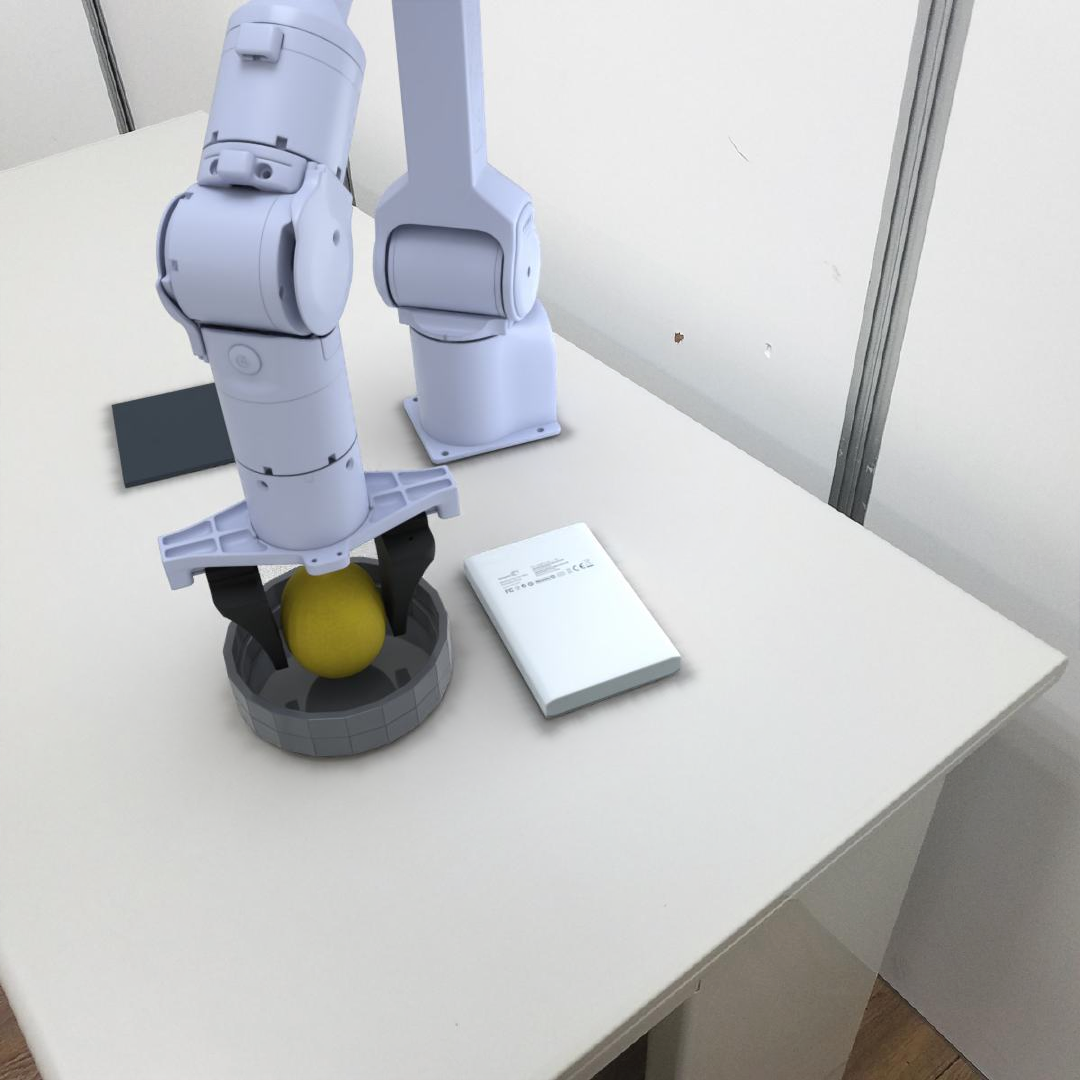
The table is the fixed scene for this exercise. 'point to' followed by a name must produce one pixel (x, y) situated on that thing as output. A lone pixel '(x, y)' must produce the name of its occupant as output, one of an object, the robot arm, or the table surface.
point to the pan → (344, 681)
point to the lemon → (333, 620)
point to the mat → (171, 434)
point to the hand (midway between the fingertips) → (338, 639)
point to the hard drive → (570, 619)
